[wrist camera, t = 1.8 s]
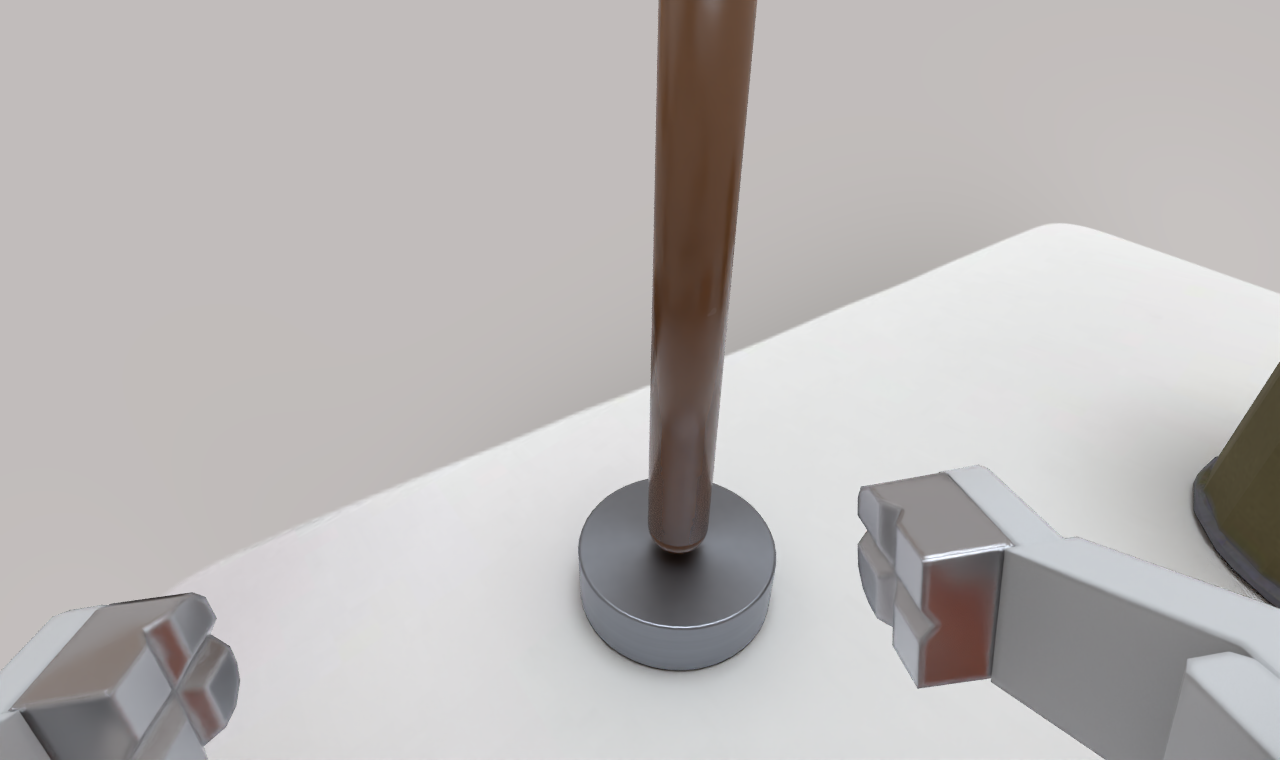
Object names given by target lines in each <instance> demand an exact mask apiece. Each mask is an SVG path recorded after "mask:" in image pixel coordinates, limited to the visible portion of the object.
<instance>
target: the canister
mask: <svg viewBox="0 0 1280 760" xmlns="http://www.w3.org/2000/svg"><path fill="white" fill-rule="evenodd" d="M1194 512H1195V514H1196V516H1197V517H1198V519H1199V521H1200V523H1201V524H1202V526H1203V528H1204V530H1205V531H1206V533H1207V535H1208V537H1209V538H1210V540H1211V542H1212V544H1213V546H1214V547H1215V549H1216V550H1217V551H1218V552H1219V554H1220V555H1221V556H1222V557H1223V558H1224V559H1225V560H1226V561H1227V563H1228V564H1229V565H1230V566H1231V567H1232V568H1233V569H1234V570H1235V571H1236V572H1237V573H1238V574H1239V575H1240V576H1241V577H1243V578H1244V579H1245V580H1246V581H1247V582H1248V583H1249V584H1250V585H1251V586H1252V587H1253V588H1255V589H1256V590H1257V591H1258V592H1259V593H1260V594H1261V595H1262V596H1263V597H1264V598H1265V599H1266V600H1268V601H1269V602H1270V603H1272V604H1273V605H1275V606H1276V607H1278V608H1280V362H1279V364H1278V365H1277V367H1276V368H1275V370H1274V371H1273V373H1272V374H1271V376H1270V378H1269V379H1268V381H1267V382H1266V384H1265V385H1264V387H1263V388H1262V390H1261V392H1260V393H1259V395H1258V396H1257V398H1256V399H1255V401H1254V402H1253V404H1252V406H1251V407H1250V409H1249V410H1248V412H1247V413H1246V415H1245V416H1244V418H1243V419H1242V421H1241V423H1240V424H1239V426H1238V427H1237V429H1236V430H1235V432H1234V433H1233V435H1232V437H1231V438H1230V440H1229V441H1228V443H1227V444H1226V446H1225V447H1224V449H1223V451H1222V452H1221V454H1220V455H1219V456H1218V457H1215V458H1214V459H1213V460H1212V461H1211V462H1210V463H1208V464H1207V465H1206V466H1205V467H1204V468H1203V469H1202V470H1201V472H1200V473H1199V474H1198V475H1197V477H1196V479H1195V481H1194Z"/></svg>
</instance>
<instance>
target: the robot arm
mask: <svg viewBox="0 0 1280 760" xmlns="http://www.w3.org/2000/svg"><path fill="white" fill-rule="evenodd" d="M858 516H859V518H860V519H861V521H862V522H863V524H864V525H865V527H866V529H867V532H866V533H865V535H864V536H863V537H862V539H861V540H860V542H859V543H858V567H859V572H860V576H861V581H862V586H863V589H864V592H865V594H866V597H867V600H868V602H869V604H870V606H871V608H872V610H873V612H874V613H875V615H876V617H877V619H879V620H881V621H883V622H885V623H886V624H888V625H890V626H892V627H893V647H894V649H895V650H896V652H897V654H898V656H899V657H900V659H901V661H902V662H903V664H904V666H905V668H906V669H907V671H908V673H909V674H910V676H911V678H912V680H913V681H914V683H915V685H916V686H917V688H925V687H932V686H939V685H946V684H953V683H961V682H968V681H975V680H982V679H989V678H991V682H992V683H993V684H995V685H996V686H998V687H999V688H1001V689H1002V690H1004V691H1005V692H1007V693H1008V694H1010V695H1011V696H1013V697H1014V698H1015V699H1017V700H1018V701H1020V702H1021V703H1023V704H1024V705H1026V706H1027V707H1029V708H1030V709H1032V710H1033V711H1035V712H1036V713H1038V714H1039V715H1041V716H1042V717H1043V718H1045V719H1046V720H1048V721H1049V722H1051V723H1052V724H1054V725H1055V726H1057V727H1058V728H1060V729H1061V730H1063V731H1064V732H1066V733H1067V734H1068V735H1070V736H1071V737H1073V738H1074V739H1076V740H1077V741H1079V742H1080V743H1082V744H1083V745H1085V746H1086V747H1088V748H1089V749H1091V750H1092V751H1094V752H1095V753H1096V754H1098V755H1099V756H1101V757H1102V758H1104V759H1105V760H1280V608H1277V607H1274V606H1271V605H1269V604H1266V603H1263V602H1260V601H1257V600H1254V599H1252V598H1249V597H1246V596H1243V595H1240V594H1237V593H1235V592H1232V591H1229V590H1226V589H1223V588H1221V587H1218V586H1215V585H1212V584H1209V583H1206V582H1204V581H1201V580H1198V579H1195V578H1192V577H1190V576H1187V575H1184V574H1181V573H1178V572H1175V571H1173V570H1170V569H1167V568H1164V567H1161V566H1158V565H1156V564H1153V563H1150V562H1147V561H1144V560H1142V559H1139V558H1136V557H1133V556H1130V555H1127V554H1125V553H1122V552H1119V551H1116V550H1113V549H1111V548H1108V547H1105V546H1102V545H1099V544H1096V543H1094V542H1091V541H1088V540H1085V539H1082V538H1079V537H1072V538H1065V539H1064V538H1063V537H1062V536H1061V535H1060V534H1059V533H1057V532H1056V531H1055V530H1054V529H1053V528H1052V527H1051V526H1050V525H1049V524H1048V523H1047V522H1046V521H1044V520H1043V519H1042V518H1041V517H1040V516H1039V515H1038V514H1037V513H1036V512H1035V511H1034V510H1033V509H1031V508H1030V507H1029V506H1028V505H1027V504H1026V503H1025V502H1024V501H1023V500H1022V499H1021V498H1020V497H1019V496H1017V495H1016V494H1015V493H1014V492H1013V491H1012V490H1011V489H1010V488H1009V487H1008V486H1007V485H1006V484H1004V483H1003V482H1002V481H1001V480H1000V479H999V478H998V477H997V476H996V475H995V474H994V473H993V472H991V471H990V470H989V469H988V468H986V467H983V466H980V465H974V466H969V467H963V468H958V469H953V470H948V471H943V472H939V473H937V474H931V475H925V476H920V477H914V478H908V479H902V480H897V481H891V482H885V483H879V484H874V485H868V486H862V487H861V488H860V492H859V496H858ZM216 619H217V618H216V616H215V614H214V612H213V610H212V608H211V607H210V605H209V603H208V601H207V599H206V597H204V596H201V595H198V594H195V593H185V594H178V595H170V596H163V597H156V598H149V599H142V600H135V601H127V602H121V603H113V604H110V605H99V606H93V607H87V608H81V609H74V610H69V611H66V612H64V613H61V614H58V615H56V616H53V617H52V618H51V619H50V620H49V621H48V622H47V623H46V624H45V625H44V626H43V627H42V629H41V630H40V631H39V632H38V633H37V634H36V635H35V636H34V637H33V638H32V639H31V640H30V641H29V642H28V643H27V644H26V645H25V646H24V647H23V648H22V649H21V650H20V651H19V653H18V654H17V655H16V656H15V657H14V658H13V659H12V660H11V661H10V662H9V663H8V664H7V665H6V666H5V667H4V668H3V669H2V670H1V671H0V760H208V758H207V755H206V752H205V749H204V745H206V744H207V743H208V742H209V741H210V740H211V739H213V738H214V737H215V736H216V735H217V734H218V733H220V732H221V731H222V730H223V729H224V728H225V727H226V726H227V724H228V722H229V720H230V718H231V716H232V714H233V712H234V709H235V707H236V704H237V697H238V691H239V685H240V678H239V671H238V665H237V661H236V659H235V657H234V654H233V652H232V650H231V648H230V646H229V645H227V644H225V643H224V642H222V641H221V640H219V639H217V638H216V637H214V636H213V635H211V632H212V629H213V627H214V624H215V621H216Z"/></svg>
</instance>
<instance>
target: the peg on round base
mask: <svg viewBox="0 0 1280 760" xmlns="http://www.w3.org/2000/svg"><path fill="white" fill-rule="evenodd" d="M756 6H757V0H659V9H658V56H657V57H658V58H657V104H656V105H657V106H656V153H655V155H656V156H655V157H656V158H655V201H654V204H655V205H654V206H655V207H654V250H653V252H654V253H653V297H652V345H651V393H650V442H649V479H646V480H642V481H638V482H635V483H632V484H630V485H627V486H625V487H623V488H621V489H619V490H617V491H615V492H614V493H612V494H610V495H609V496H607V497H606V498H605V499H604V500H603V501H602V502H600V503H599V504H598V505H597V507H596V508H595V509H594V510H593V511H592V512H591V514H590V515H589V517H588V518H587V520H586V522H585V524H584V526H583V528H582V531H581V535H580V538H579V546H578V555H579V571H580V587H581V599H582V604H583V608H584V611H585V613H586V616H587V618H588V620H589V622H590V623H591V625H592V627H593V628H594V630H595V631H596V632H597V633H598V635H599V636H600V637H601V638H602V639H603V640H604V641H605V642H606V643H607V644H608V645H609V646H610V647H612V648H613V649H615V650H616V651H617V652H619V653H620V654H622V655H624V656H625V657H627V658H629V659H631V660H633V661H636V662H638V663H641V664H643V665H647V666H651V667H654V668H660V669H667V670H691V669H699V668H703V667H708V666H711V665H714V664H717V663H719V662H722V661H724V660H726V659H728V658H730V657H732V656H733V655H735V654H736V653H738V652H739V651H740V650H742V649H743V648H744V647H745V646H746V645H747V644H748V643H749V642H751V641H752V639H753V638H754V637H755V635H756V634H757V633H758V632H759V630H760V628H761V626H762V624H763V622H764V620H765V617H766V614H767V611H768V606H769V600H770V595H771V589H772V584H773V578H774V573H775V567H776V549H775V544H774V540H773V537H772V535H771V532H770V530H769V528H768V526H767V524H766V522H765V521H764V520H763V518H762V517H761V515H760V514H759V513H758V512H757V511H756V510H755V509H754V508H753V507H752V506H751V505H750V504H749V503H748V502H747V501H745V500H744V499H743V498H741V497H740V496H738V495H737V494H735V493H734V492H732V491H730V490H728V489H726V488H724V487H721V486H719V485H717V484H714V483H712V482H713V471H714V461H715V450H716V439H717V428H718V417H719V407H720V396H721V385H722V374H723V363H724V353H725V342H726V331H727V320H728V309H729V299H730V287H731V277H732V266H733V255H734V244H735V234H736V233H735V232H736V223H737V212H738V201H739V191H740V180H741V169H742V158H743V147H744V136H745V126H746V115H747V104H748V93H749V82H750V71H751V61H752V50H753V40H754V28H755V18H756Z"/></svg>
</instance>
